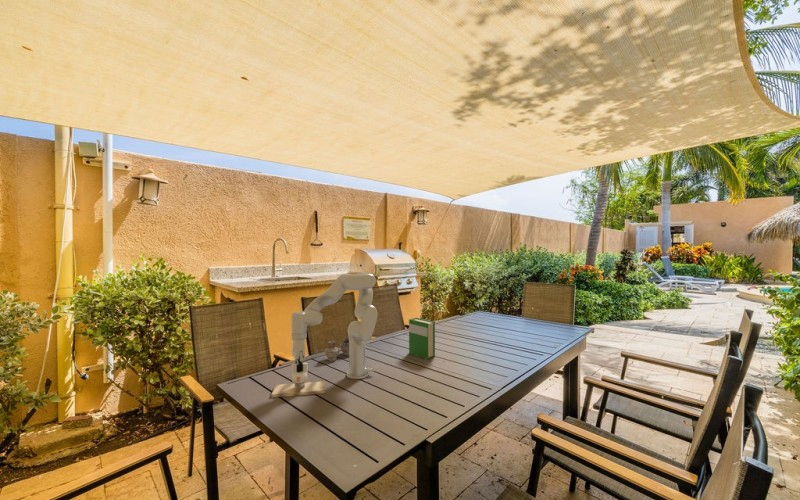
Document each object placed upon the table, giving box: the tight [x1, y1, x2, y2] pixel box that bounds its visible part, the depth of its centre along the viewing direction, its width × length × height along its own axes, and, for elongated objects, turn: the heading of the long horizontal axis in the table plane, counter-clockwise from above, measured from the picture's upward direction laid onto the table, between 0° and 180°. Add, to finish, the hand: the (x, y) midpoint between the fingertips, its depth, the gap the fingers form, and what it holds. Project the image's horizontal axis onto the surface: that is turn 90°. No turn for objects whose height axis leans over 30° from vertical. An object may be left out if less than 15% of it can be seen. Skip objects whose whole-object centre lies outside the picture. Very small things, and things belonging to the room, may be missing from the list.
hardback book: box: [408, 317, 436, 360], centre depth 235 cm, size 18×7×24 cm, turn 42°
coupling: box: [291, 362, 309, 384], centre depth 177 cm, size 9×8×9 cm
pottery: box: [324, 337, 349, 362], centre depth 232 cm, size 11×25×12 cm, turn 144°
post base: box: [270, 380, 326, 398], centre depth 178 cm, size 26×12×5 cm, turn 101°
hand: (299, 370), depth 178 cm, fingers closed on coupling, 3 cm apart
